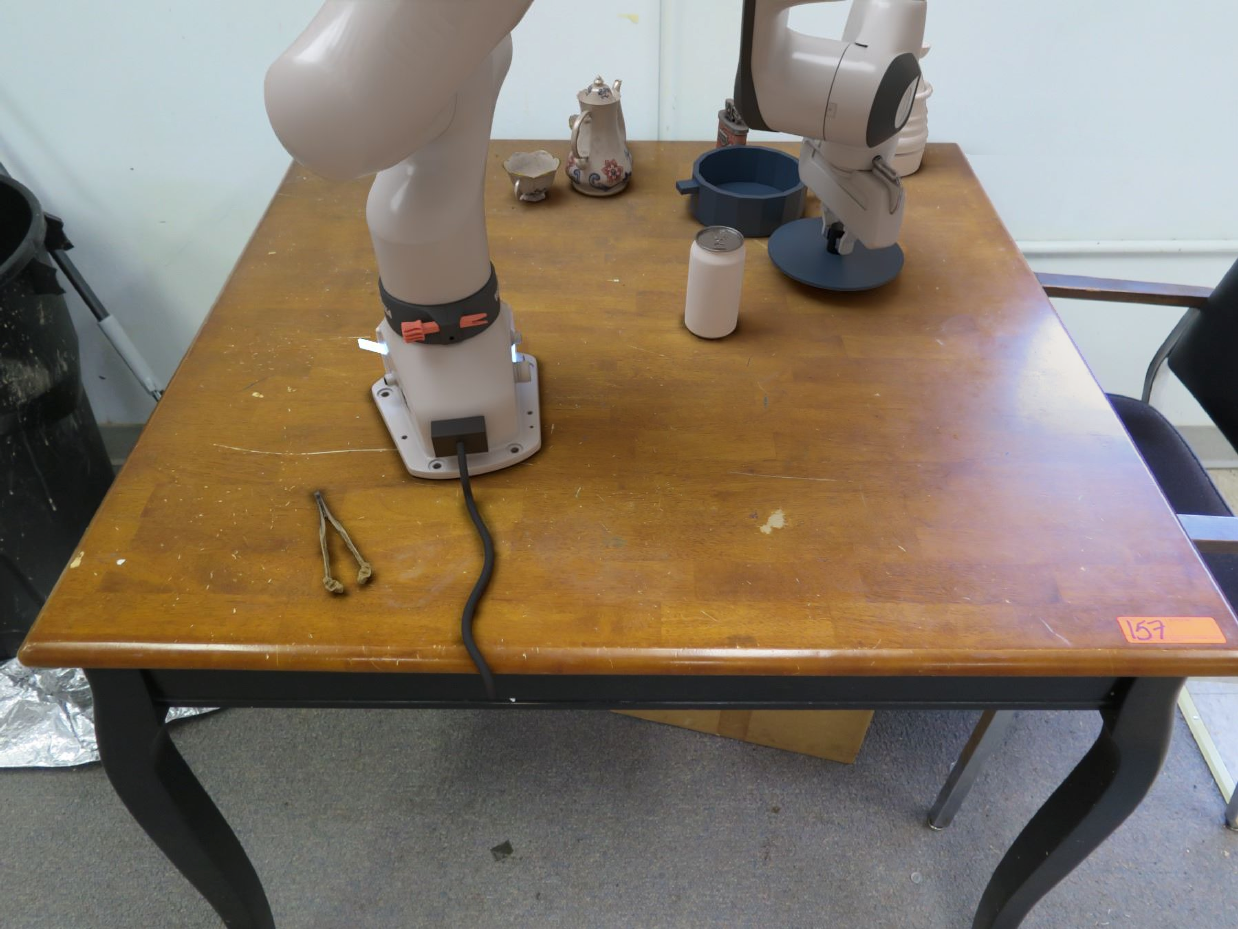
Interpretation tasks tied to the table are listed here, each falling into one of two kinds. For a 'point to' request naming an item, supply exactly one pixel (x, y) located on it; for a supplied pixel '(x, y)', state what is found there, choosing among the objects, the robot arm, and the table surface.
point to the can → (714, 281)
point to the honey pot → (914, 128)
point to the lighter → (731, 126)
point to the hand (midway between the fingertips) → (836, 244)
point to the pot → (745, 189)
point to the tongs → (328, 582)
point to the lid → (831, 257)
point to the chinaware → (581, 150)
